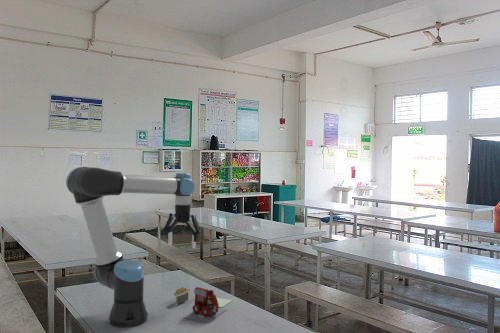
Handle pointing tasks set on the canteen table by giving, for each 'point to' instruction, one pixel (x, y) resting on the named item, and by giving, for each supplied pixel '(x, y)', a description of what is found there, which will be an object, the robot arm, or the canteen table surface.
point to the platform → (181, 295)
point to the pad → (223, 302)
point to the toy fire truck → (205, 302)
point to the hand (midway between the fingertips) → (181, 246)
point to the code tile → (202, 318)
